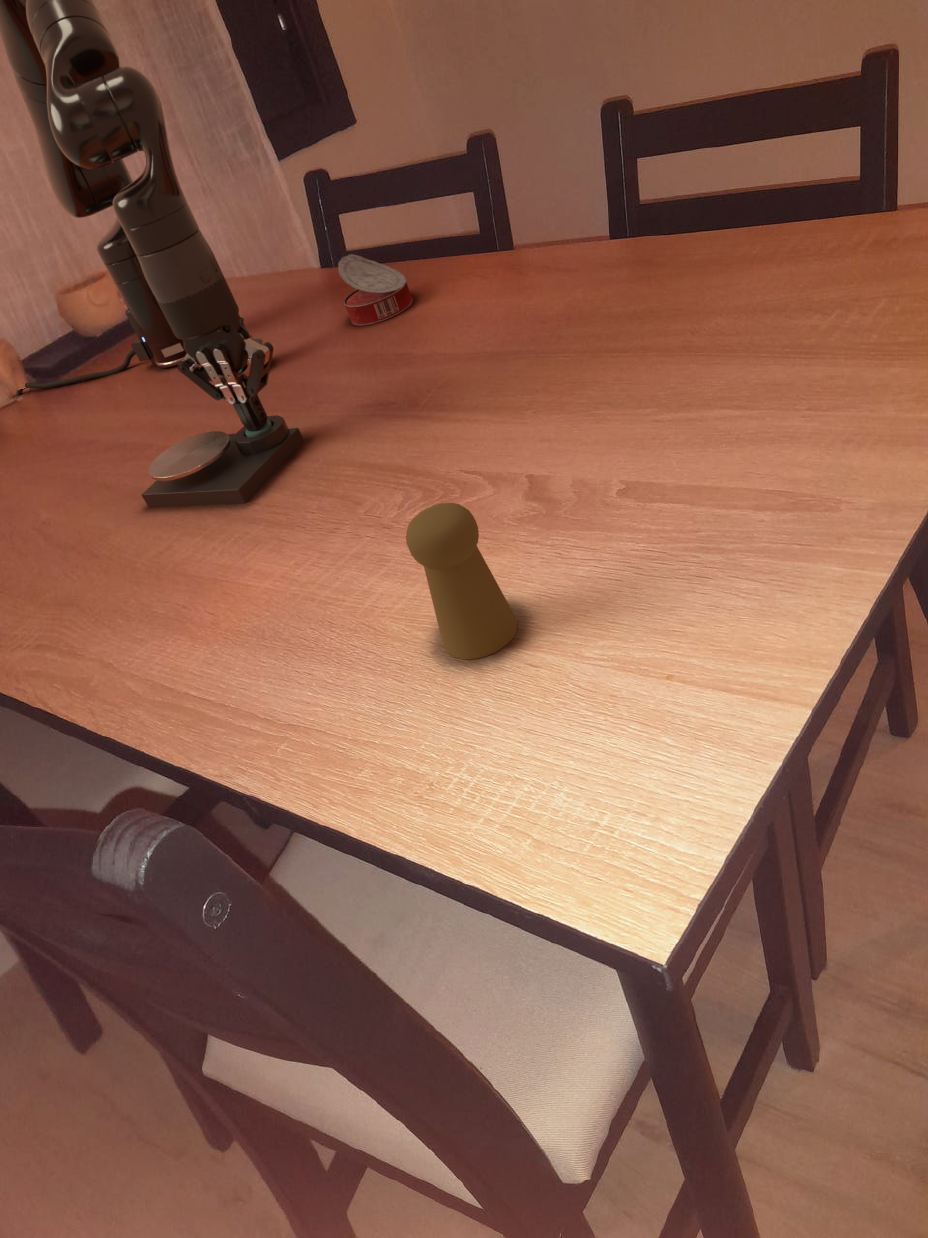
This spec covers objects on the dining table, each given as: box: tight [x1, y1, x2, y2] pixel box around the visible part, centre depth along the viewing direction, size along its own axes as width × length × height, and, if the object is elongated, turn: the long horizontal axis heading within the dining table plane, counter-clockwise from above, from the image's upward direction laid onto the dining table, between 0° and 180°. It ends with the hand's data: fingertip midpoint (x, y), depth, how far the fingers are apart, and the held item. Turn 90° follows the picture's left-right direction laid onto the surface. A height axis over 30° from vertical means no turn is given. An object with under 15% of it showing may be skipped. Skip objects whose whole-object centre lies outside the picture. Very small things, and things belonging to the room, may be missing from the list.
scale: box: [140, 414, 305, 509], centre depth 111 cm, size 15×14×4 cm
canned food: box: [337, 253, 414, 327], centre depth 141 cm, size 11×10×10 cm
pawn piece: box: [405, 502, 519, 660], centre depth 70 cm, size 6×6×11 cm
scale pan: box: [148, 430, 230, 481], centre depth 110 cm, size 10×10×1 cm
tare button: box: [245, 420, 272, 438], centre depth 111 cm, size 3×3×2 cm
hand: (258, 427), depth 110 cm, fingers closed
